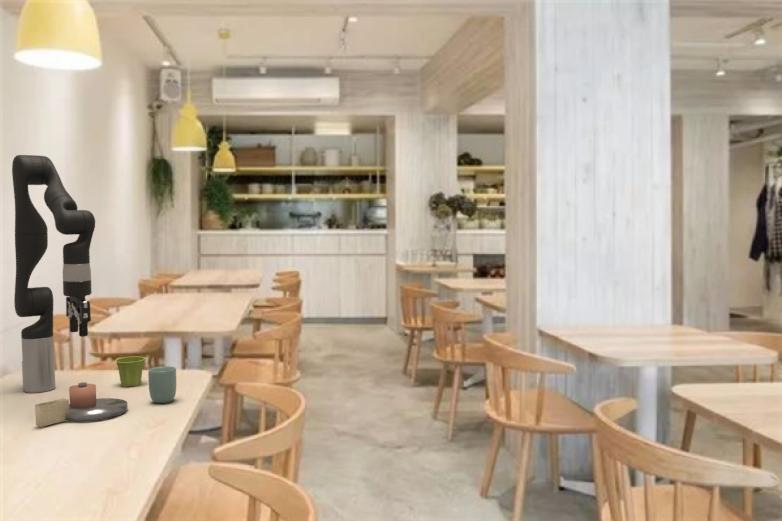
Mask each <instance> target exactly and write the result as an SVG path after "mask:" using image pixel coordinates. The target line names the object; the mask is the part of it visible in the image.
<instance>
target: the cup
mask: <svg viewBox="0 0 782 521" xmlns="http://www.w3.org/2000/svg"><path fill="white" fill-rule="evenodd" d="M147 376H148V390H149V397H150V399H151V401H152V402H153V403H156V404H167V403H170V402H172V401H173V400H174V398H175V397H176V394H177V368H176V367H175V366H170V365H168V366H167V365H166V366H165V365H164V366H163V365H162V366H155V367H152V368H150V369H148V375H147Z"/></svg>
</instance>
